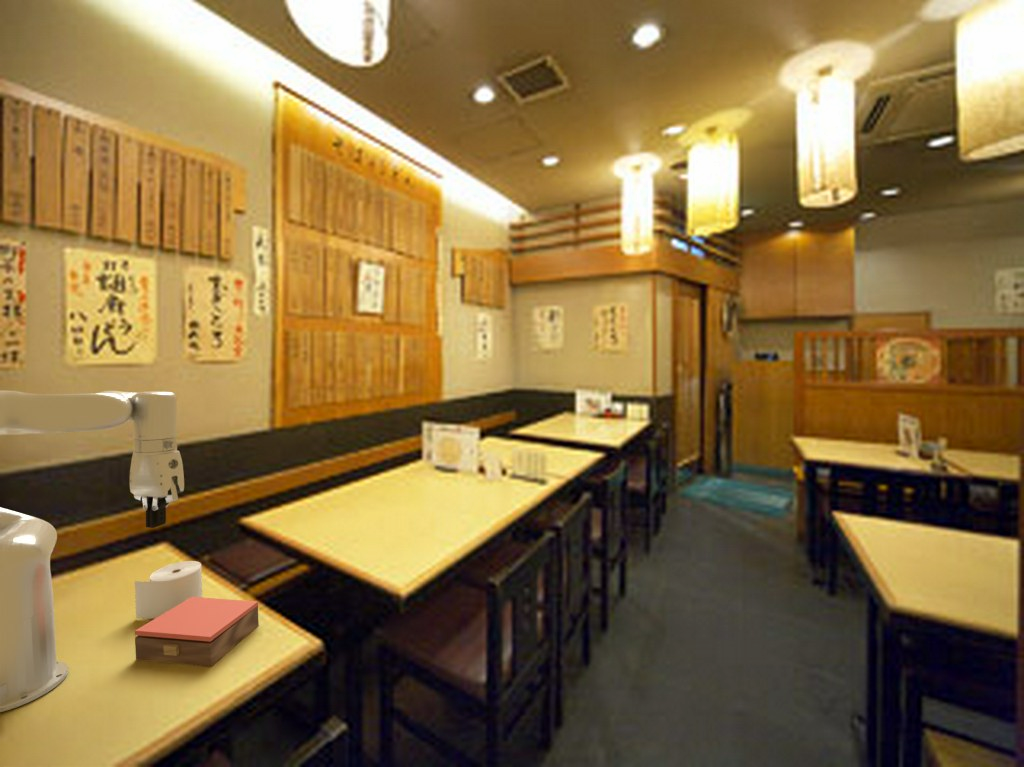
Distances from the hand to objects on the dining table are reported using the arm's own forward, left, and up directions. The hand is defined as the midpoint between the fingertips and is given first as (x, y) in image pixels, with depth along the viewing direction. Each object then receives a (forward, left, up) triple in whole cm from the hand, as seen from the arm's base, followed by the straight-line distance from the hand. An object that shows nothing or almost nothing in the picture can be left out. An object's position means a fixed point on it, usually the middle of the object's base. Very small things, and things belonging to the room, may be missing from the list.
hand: (155, 525), depth 95 cm
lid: (+1, -9, -22) cm, 24 cm away
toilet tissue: (+12, +9, -28) cm, 32 cm away
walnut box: (+1, -9, -28) cm, 29 cm away
